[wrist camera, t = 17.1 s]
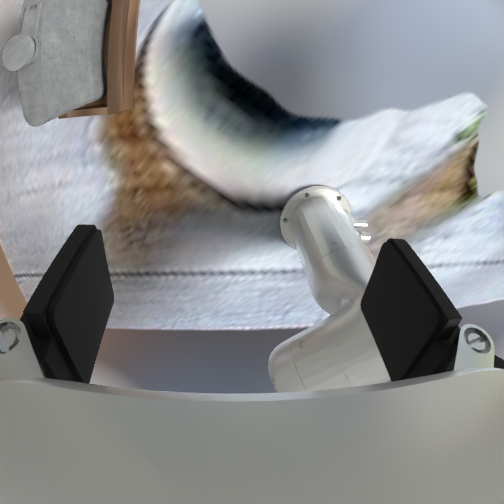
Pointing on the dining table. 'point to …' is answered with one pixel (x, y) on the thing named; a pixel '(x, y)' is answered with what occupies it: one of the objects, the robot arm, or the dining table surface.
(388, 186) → the dining table surface
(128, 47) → the walnut stand
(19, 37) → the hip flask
